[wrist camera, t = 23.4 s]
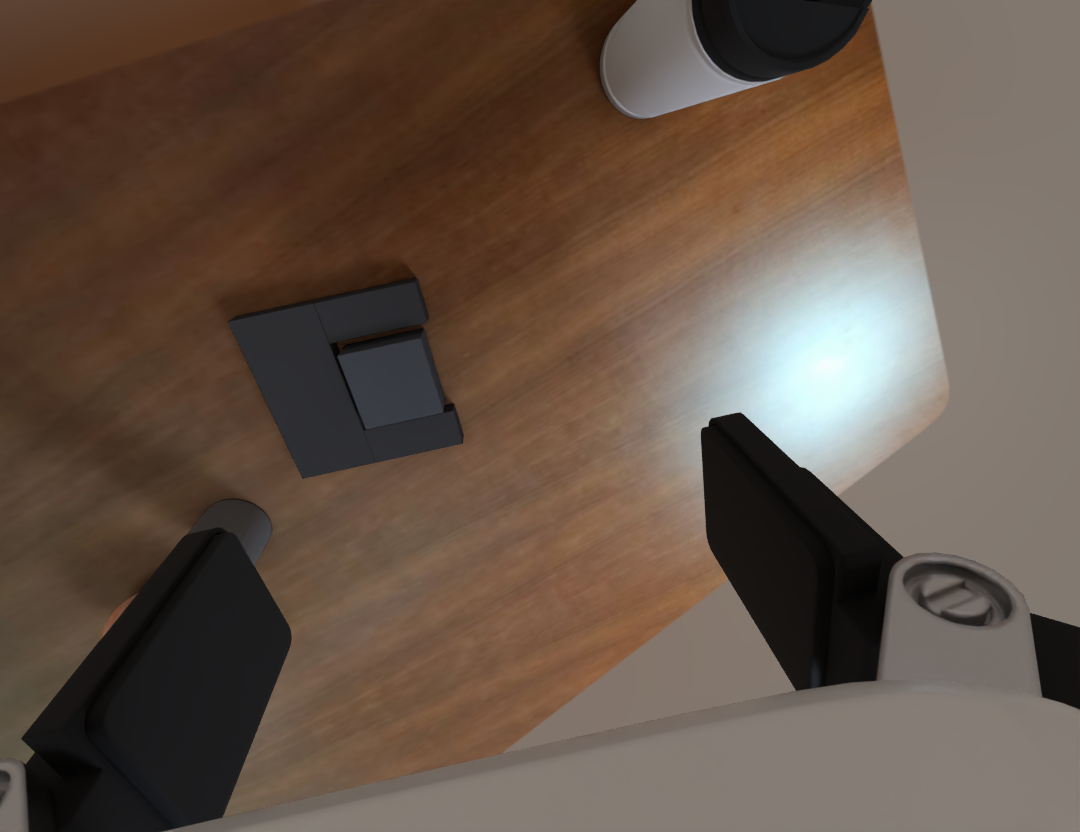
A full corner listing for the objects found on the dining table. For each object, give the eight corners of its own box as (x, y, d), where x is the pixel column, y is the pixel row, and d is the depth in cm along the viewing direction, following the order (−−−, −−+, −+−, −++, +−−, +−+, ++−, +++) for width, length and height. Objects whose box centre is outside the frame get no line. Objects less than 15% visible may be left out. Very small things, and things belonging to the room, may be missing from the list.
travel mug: (599, 2, 33) (742, -197, 15) (697, 14, 34) (943, -161, 16) (589, 114, 36) (699, 59, 18) (680, 123, 36) (874, 78, 19)
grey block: (344, 345, 41) (336, 355, 38) (424, 328, 41) (420, 337, 39) (371, 416, 44) (365, 429, 41) (445, 399, 44) (443, 412, 41)
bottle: (265, 497, 46) (176, 633, 32) (278, 548, 48) (200, 695, 35) (195, 499, 45) (75, 639, 32) (212, 552, 48) (108, 702, 34)
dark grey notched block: (236, 316, 39) (227, 321, 38) (417, 277, 39) (414, 281, 38) (307, 469, 45) (302, 478, 44) (463, 435, 45) (463, 443, 44)
